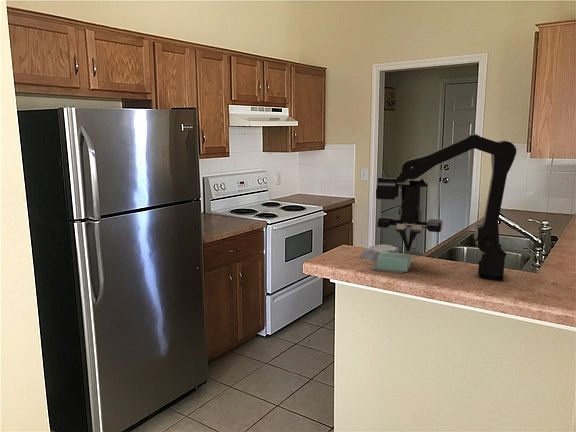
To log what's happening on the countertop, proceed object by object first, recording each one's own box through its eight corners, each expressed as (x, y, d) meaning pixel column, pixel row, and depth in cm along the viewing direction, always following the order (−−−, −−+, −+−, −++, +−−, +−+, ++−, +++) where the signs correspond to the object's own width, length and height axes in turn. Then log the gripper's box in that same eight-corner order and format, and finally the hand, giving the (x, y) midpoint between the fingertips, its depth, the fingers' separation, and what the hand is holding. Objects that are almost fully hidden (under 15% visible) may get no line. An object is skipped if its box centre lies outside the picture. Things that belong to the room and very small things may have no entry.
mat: (407, 266, 152) (407, 265, 152) (403, 273, 144) (403, 272, 144) (376, 262, 156) (376, 261, 155) (370, 269, 148) (370, 268, 148)
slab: (411, 254, 150) (382, 251, 154) (407, 260, 144) (377, 257, 148) (410, 265, 151) (382, 262, 155) (406, 271, 145) (377, 268, 148)
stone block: (359, 264, 161) (386, 263, 155) (357, 250, 161) (384, 248, 155) (375, 257, 171) (401, 256, 164) (373, 244, 170) (399, 242, 164)
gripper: (445, 198, 148) (442, 247, 151) (385, 195, 155) (383, 242, 158) (441, 204, 138) (438, 256, 141) (377, 200, 145) (376, 250, 148)
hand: (408, 251), depth 147 cm, fingers closed
